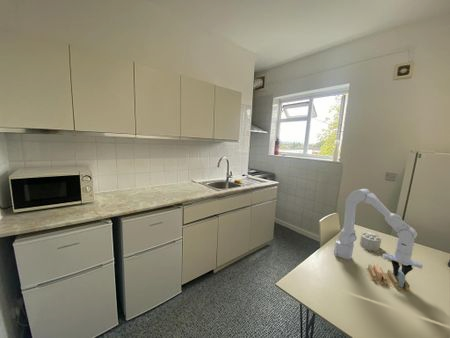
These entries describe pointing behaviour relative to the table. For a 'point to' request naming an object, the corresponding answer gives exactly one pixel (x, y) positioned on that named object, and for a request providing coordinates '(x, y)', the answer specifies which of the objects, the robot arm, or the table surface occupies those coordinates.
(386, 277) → the rack
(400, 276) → the pale blue block
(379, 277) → the wooden block
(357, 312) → the table surface
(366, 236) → the lumpy-topped squat cylinder
